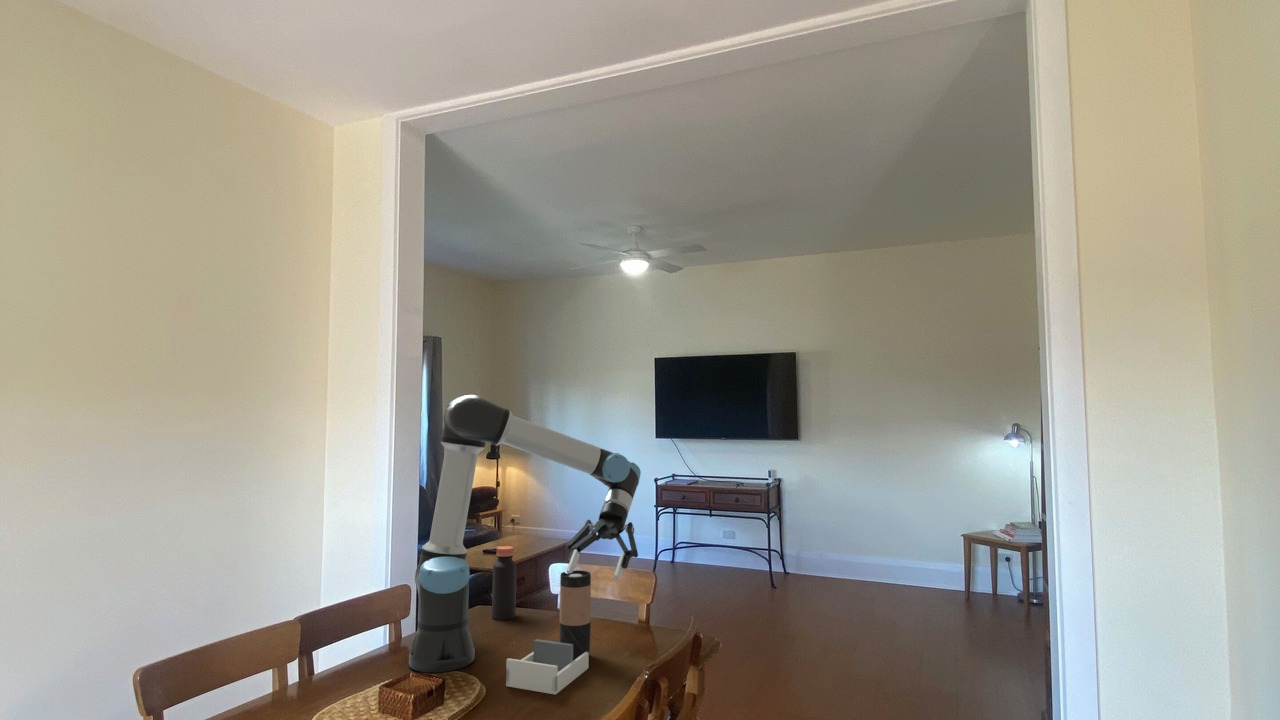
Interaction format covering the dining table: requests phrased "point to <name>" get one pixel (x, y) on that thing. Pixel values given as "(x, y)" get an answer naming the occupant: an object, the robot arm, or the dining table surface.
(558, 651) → the block
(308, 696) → the dining table surface
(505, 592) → the bottle
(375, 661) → the dining table surface
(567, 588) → the travel mug
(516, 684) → the white open box
